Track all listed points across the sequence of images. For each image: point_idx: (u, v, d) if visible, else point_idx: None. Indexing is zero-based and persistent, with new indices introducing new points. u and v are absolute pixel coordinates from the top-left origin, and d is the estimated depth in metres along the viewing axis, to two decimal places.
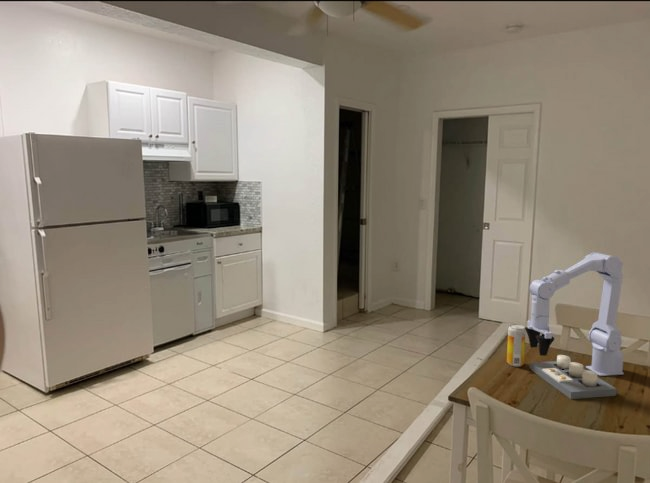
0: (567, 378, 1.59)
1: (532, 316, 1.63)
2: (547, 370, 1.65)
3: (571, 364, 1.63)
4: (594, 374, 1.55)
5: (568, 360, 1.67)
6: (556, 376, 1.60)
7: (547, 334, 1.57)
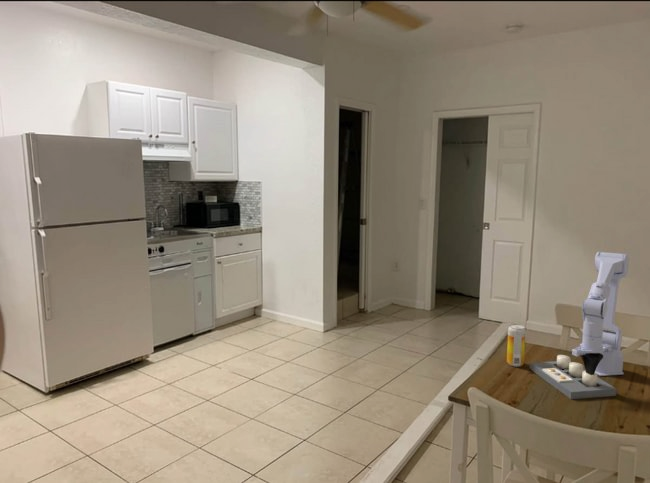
0: (567, 378, 1.59)
1: None
2: (547, 370, 1.65)
3: (571, 364, 1.63)
4: (594, 374, 1.55)
5: (568, 360, 1.67)
6: (556, 376, 1.60)
7: (573, 351, 1.53)
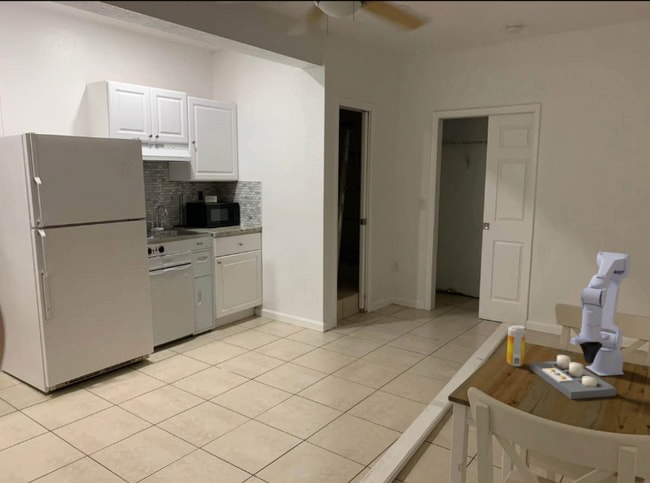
0: (567, 378, 1.59)
1: None
2: (547, 370, 1.65)
3: (571, 364, 1.63)
4: (594, 379, 1.55)
5: (568, 360, 1.67)
6: (556, 376, 1.60)
7: (571, 339, 1.53)
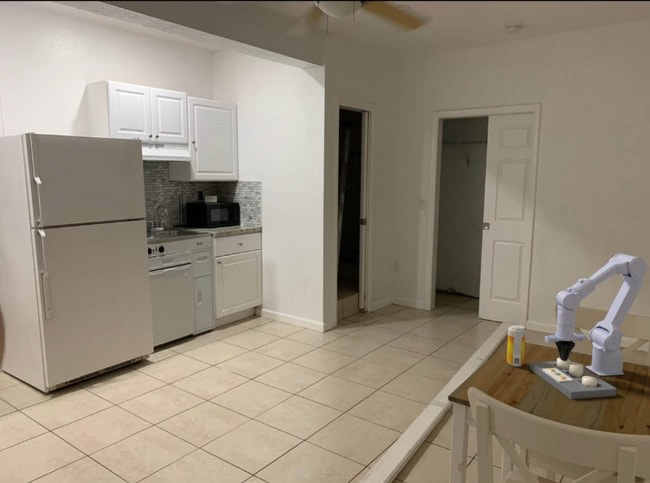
0: (567, 378, 1.59)
1: None
2: (547, 370, 1.65)
3: (571, 364, 1.63)
4: (594, 379, 1.55)
5: (568, 363, 1.67)
6: (556, 376, 1.60)
7: (545, 337, 1.68)
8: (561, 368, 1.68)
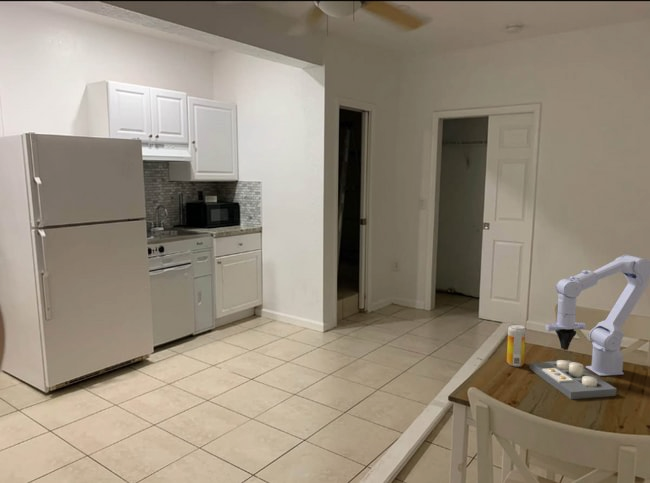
0: (567, 378, 1.59)
1: None
2: (547, 370, 1.65)
3: (571, 364, 1.63)
4: (594, 379, 1.55)
5: (568, 365, 1.68)
6: (556, 376, 1.60)
7: (546, 326, 1.67)
8: None
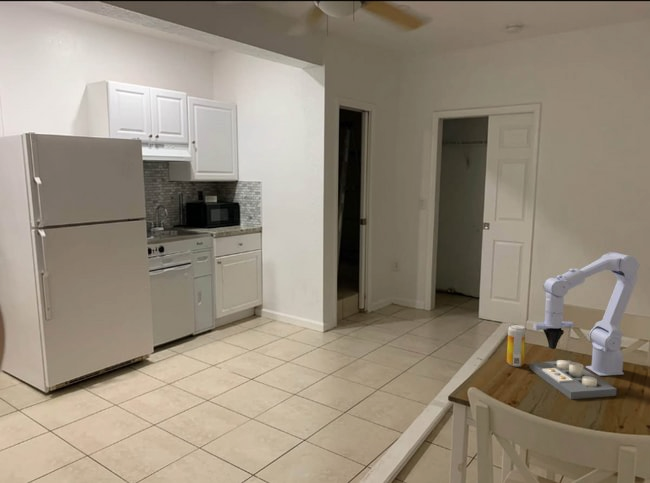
0: (567, 378, 1.59)
1: None
2: (547, 370, 1.65)
3: (571, 364, 1.63)
4: (594, 379, 1.55)
5: (568, 365, 1.68)
6: (556, 376, 1.60)
7: (533, 325, 1.66)
8: None
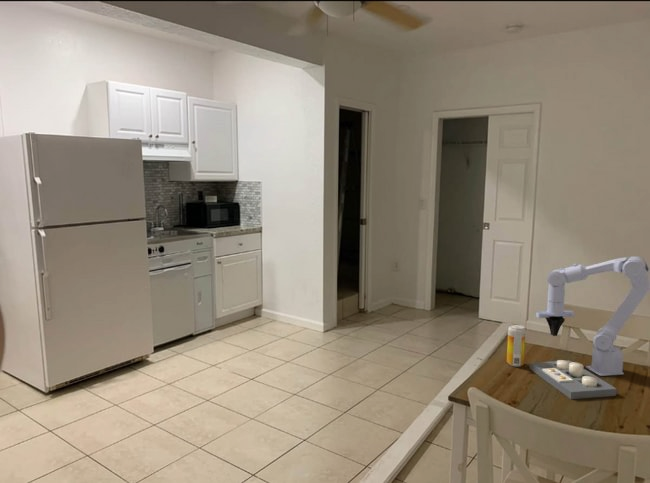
0: (567, 378, 1.59)
1: None
2: (547, 370, 1.65)
3: (571, 364, 1.63)
4: (594, 379, 1.55)
5: (568, 365, 1.68)
6: (556, 376, 1.60)
7: (536, 313, 1.78)
8: None
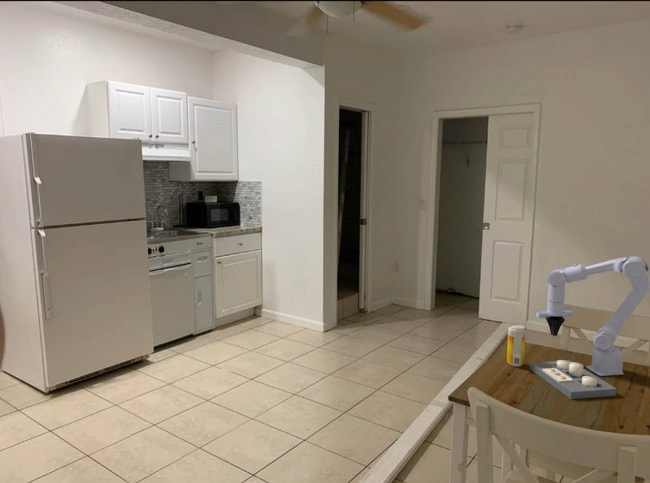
0: (567, 378, 1.59)
1: None
2: (547, 370, 1.65)
3: (571, 364, 1.63)
4: (594, 379, 1.55)
5: (568, 365, 1.68)
6: (556, 376, 1.60)
7: (536, 313, 1.78)
8: None
